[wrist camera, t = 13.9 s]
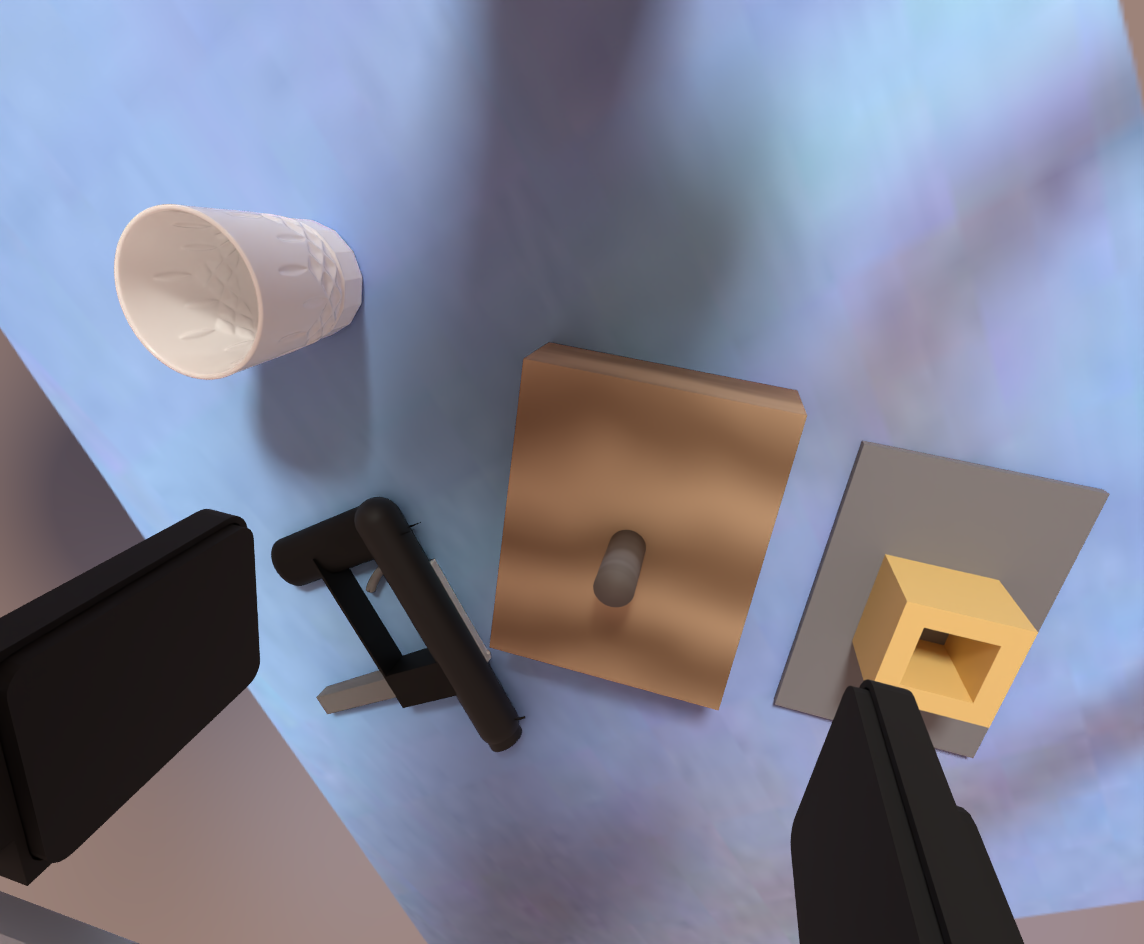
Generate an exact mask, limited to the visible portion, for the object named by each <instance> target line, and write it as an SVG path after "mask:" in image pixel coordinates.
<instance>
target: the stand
mask: <svg viewBox="0 0 1144 944" xmlns="http://www.w3.org/2000/svg"><path fill="white" fill-rule="evenodd" d="M806 417H807V414H806V411H805V409H804V406H803V404H802V401H801V399H800V396H799V394H798V391H797V390H792V389H787V388H782V387H776V386H771V385H766V384H761V383H756V382H751V381H746V380H741V379H735V378H730V377H725V376H720V375H715V374H710V373H705V372H700V371H694V370H689V369H684V368H679V367H674V366H669V365H664V364H658V363H653V362H648V361H643V360H638V359H633V358H628V357H623V356H617V355H612V354H607V353H602V352H597V351H592V350H587V349H582V348H576V347H571V346H566V345H561V344H556V343H551V342H548V343H547V344H545V345H544V346H542V347H541V348H539V349H538V350H536V351H535V352H533V353H531V354H530V355H528V356H527V357H525V358H524V359H523V367H522V375H521V384H520V392H519V401H518V409H517V418H516V426H515V435H514V443H513V452H512V460H511V469H510V477H509V485H508V494H507V502H506V511H505V519H504V528H503V536H502V545H501V553H500V562H499V570H498V579H497V587H496V596H495V604H494V613H493V621H492V630H491V638H490V648H494V649H497V650H501V651H505V652H508V653H512V654H516V655H519V656H523V657H526V658H530V659H534V660H537V661H541V662H545V663H548V664H552V665H555V666H559V667H563V668H566V669H570V670H574V671H577V672H581V673H585V674H588V675H592V676H595V677H599V678H603V679H606V680H610V681H614V682H617V683H621V684H625V685H628V686H632V687H635V688H639V689H643V690H646V691H650V692H654V693H657V694H661V695H664V696H668V697H672V698H675V699H679V700H683V701H686V702H690V703H694V704H697V705H701V706H704V707H708V708H712V709H715V710H719V707H720V704H721V700H722V697H723V694H724V690H725V687H726V684H727V680H728V677H729V674H730V670H731V667H732V664H733V660H734V657H735V654H736V650H737V647H738V644H739V640H740V637H741V634H742V630H743V627H744V624H745V620H746V617H747V614H748V610H749V607H750V604H751V600H752V597H753V594H754V590H755V587H756V584H757V580H758V577H759V574H760V571H761V567H762V564H763V561H764V557H765V554H766V551H767V547H768V544H769V541H770V537H771V534H772V531H773V527H774V524H775V521H776V517H777V514H778V511H779V507H780V504H781V501H782V497H783V494H784V491H785V487H786V484H787V481H788V477H789V474H790V471H791V467H792V464H793V461H794V457H795V454H796V451H797V447H798V444H799V441H800V437H801V434H802V431H803V427H804V424H805V421H806Z"/></svg>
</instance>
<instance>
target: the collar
mask: <svg viewBox="0 0 1144 944" xmlns="http://www.w3.org/2000/svg"><path fill="white" fill-rule="evenodd" d="M924 628H928V629H932V630H936V631H940V632H945V633H949V635H948V637H947V640H946V642H945V644H944V645H941V644H937V643H933V642H929V641H925V640H920V639H919V638H920V636H921V633H922V631H923V629H924ZM1037 634H1038V632H1037V630H1036V629H1035V628H1034V626H1033V625H1032V624H1031V622H1030V621H1029V620H1028V618H1027V617H1026V616H1025V614H1024V613H1023V612H1022V610H1021V609H1020V608H1019V606H1018V605H1017V604H1016V602H1015V601H1014V600H1013V598H1012V597H1011V596H1010V594H1009V593H1008V592H1007V590H1006V589H1005V588H1004V586H1003V585H1002V584H1001V582H1000V581H999V580H996V579H992V578H987V577H983V576H979V575H974V574H970V573H965V572H961V571H957V570H952V569H948V568H944V567H939V566H935V565H930V564H926V563H922V562H917V561H913V560H908V559H904V558H900V557H895V556H891V555H887V554H885V556H884V559H883V561H882V564H881V567H880V569H879V572H878V574H877V577H876V580H875V582H874V585H873V587H872V590H871V593H870V595H869V598H868V601H867V603H866V606H865V608H864V611H863V614H862V616H861V619H860V621H859V624H858V627H857V629H856V632H855V634H854V637H853V640H852V642H853V646H854V649H855V652H856V656H857V659H858V663H859V666H860V670H861V673H862V677H863V680H867V679H869V680H873V681H877V682H881V683H884V684H888V685H892V686H896V687H900V688H904V689H908V690H909V691H911V692H912V694H913V695H914V697H915V700H916V702H917V705H918V708H919V710H923V711H927V712H930V713H934V714H938V715H942V716H946V717H949V718H953V719H957V720H961V721H965V722H969V723H972V724H976V725H980V726H984V727H988V728H989V727H990V725H991V723H992V721H993V719H994V717H995V715H996V713H997V711H998V709H999V707H1000V706H1001V704H1002V702H1003V700H1004V698H1005V696H1006V694H1007V692H1008V690H1009V688H1010V686H1011V684H1012V682H1013V680H1014V678H1015V676H1016V675H1017V673H1018V671H1019V669H1020V667H1021V665H1022V663H1023V661H1024V659H1025V657H1026V655H1027V653H1028V651H1029V649H1030V647H1031V645H1032V644H1033V642H1034V640H1035V638H1036V636H1037Z"/></svg>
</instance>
